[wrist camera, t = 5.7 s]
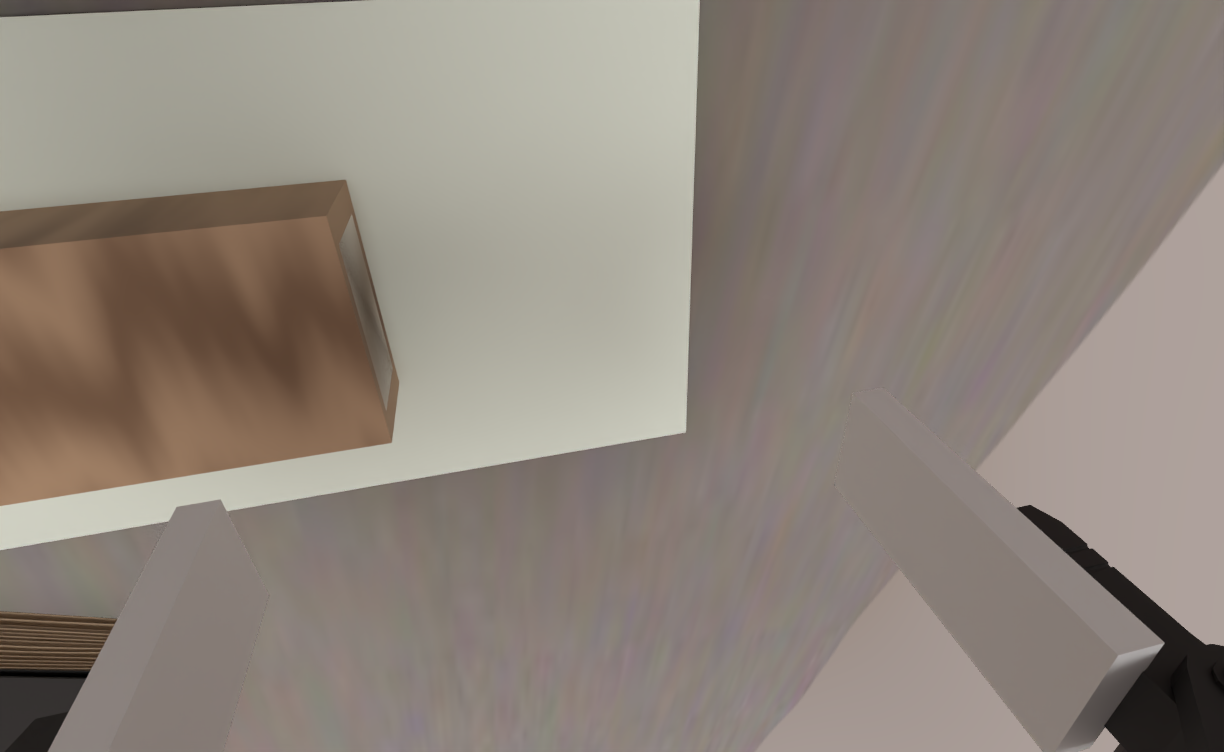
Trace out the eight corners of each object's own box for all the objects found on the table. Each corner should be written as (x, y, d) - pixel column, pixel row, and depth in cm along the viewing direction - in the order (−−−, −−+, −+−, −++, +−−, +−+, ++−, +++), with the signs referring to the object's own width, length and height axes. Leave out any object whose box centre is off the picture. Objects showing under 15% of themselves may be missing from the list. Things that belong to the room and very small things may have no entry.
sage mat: (-470, 39, 15) (-490, 39, 15) (696, -16, 20) (700, -16, 20) (-34, 549, 25) (-40, 557, 24) (683, 427, 30) (685, 432, 29)
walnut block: (345, 179, 21) (-154, 225, 18) (326, 215, 17) (-288, 277, 15) (399, 382, 25) (0, 440, 22) (391, 442, 21) (-78, 518, 19)
